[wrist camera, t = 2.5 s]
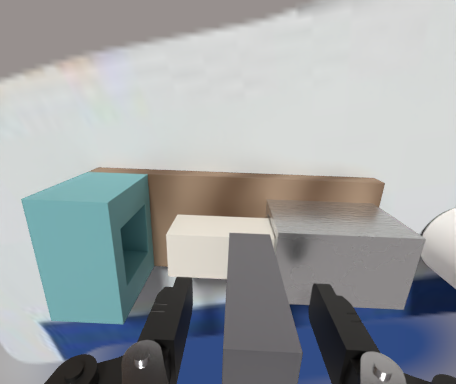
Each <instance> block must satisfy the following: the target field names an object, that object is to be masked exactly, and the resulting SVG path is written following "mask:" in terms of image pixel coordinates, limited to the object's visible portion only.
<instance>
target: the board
mask: <svg viewBox="0 0 456 384" xmlns="http://www.w3.org/2000/svg"><path fill="white" fill-rule="evenodd" d="M89 172H103V173H129V174H148V187H149V201H150V215H151V228H152V242H153V255H154V266H168V261H167V242H166V234H167V232H168V230H169V228H170V227H171V225H172V223H173V221H174V220H175V218H176V216H177V215H201V216H225V217H249V218H265V213H266V202H267V199H273V200H298V201H323V202H348V203H373V204H375V205H376V206H378V207H379V205H380V201H381V197H382V193H383V189H384V185H385V183H383V182H381V181H379V180H377V179H375V178H359V177H332V176H306V175H280V174H254V173H228V172H201V171H175V170H149V169H123V168H96V169H94V170H91V171H89Z"/></svg>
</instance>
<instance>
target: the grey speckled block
mask: <svg viewBox="0 0 456 384" xmlns="http://www.w3.org/2000/svg"><path fill="white" fill-rule="evenodd" d="M265 218H270V221H271V224H272V227H273V230H274V233H275V236H276V239H275V249H274V251H275V255H276V258H277V262H278V266H279V269H280V273H281V276H282V280H283V284H284V287H285V291H286V295H287V298H288V302H289V304H299V305H309V304H310V298H311V292H312V286H313V284H314V283H318V284H330V285H331V286H332V288H333V290H334V292H335V293H336V295H339V296H343V297H344V298H345V299H346V300H347V301H348V302H350V303H351V304H352V306H353V307H361V308H382V309H404V306H405V303H406V300H407V297H408V294H409V291H410V288H411V284H412V281H413V278H414V275H415V272H416V269H417V266H418V263H419V260H420V256H421V253H422V250H423V247H424V244H425V241H426V239H425V238H424V237H422V236H421V235H419V234H418V233H416V232H415V231H413V230H412V229H410V228H409V227H407V226H406V225H404V224H403V223H401V222H400V221H398V220H397V219H395V218H394V217H393V216H391V215H390V214H388V213H387V212H385V211H384V210H382V209H381V208H379V207H378V206H376V205H375V204H373V203H348V202H323V201H298V200H273V199H267V202H266V213H265Z"/></svg>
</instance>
